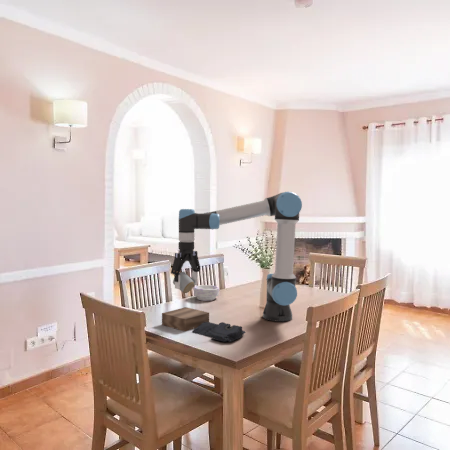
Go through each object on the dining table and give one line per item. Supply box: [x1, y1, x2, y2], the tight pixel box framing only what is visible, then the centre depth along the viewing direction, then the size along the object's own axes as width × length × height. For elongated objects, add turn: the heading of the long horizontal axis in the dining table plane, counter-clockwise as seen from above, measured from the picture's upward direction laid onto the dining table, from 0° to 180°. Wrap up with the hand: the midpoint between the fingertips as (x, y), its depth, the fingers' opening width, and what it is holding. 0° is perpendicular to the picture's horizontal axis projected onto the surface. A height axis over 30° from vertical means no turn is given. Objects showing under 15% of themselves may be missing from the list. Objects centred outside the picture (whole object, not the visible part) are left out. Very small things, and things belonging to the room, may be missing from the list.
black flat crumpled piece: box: [191, 321, 246, 343], centre depth 190 cm, size 15×22×5 cm
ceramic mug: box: [172, 271, 196, 294], centre depth 201 cm, size 11×8×8 cm
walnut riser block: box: [161, 306, 210, 332], centre depth 202 cm, size 16×16×6 cm
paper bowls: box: [193, 284, 220, 302], centre depth 255 cm, size 15×15×8 cm
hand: (186, 286), depth 202 cm, fingers closed on ceramic mug, 11 cm apart
